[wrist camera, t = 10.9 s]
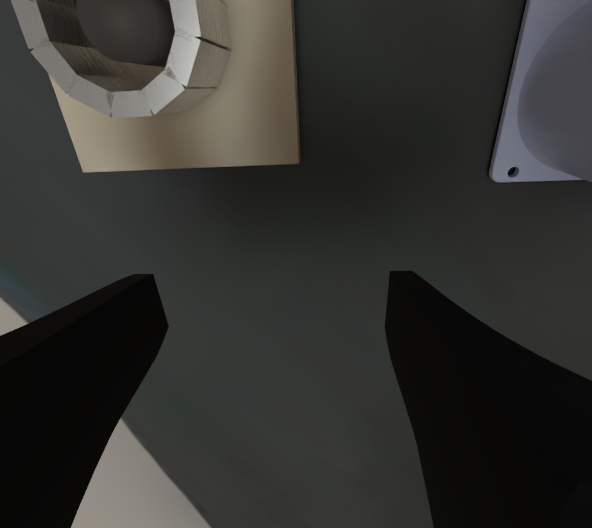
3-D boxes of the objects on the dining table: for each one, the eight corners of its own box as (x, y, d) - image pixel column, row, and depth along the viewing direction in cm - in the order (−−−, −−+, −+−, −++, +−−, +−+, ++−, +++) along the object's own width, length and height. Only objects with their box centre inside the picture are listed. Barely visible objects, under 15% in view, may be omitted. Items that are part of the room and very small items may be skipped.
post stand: (286, -155, 12) (266, -294, 8) (300, 157, 17) (293, 182, 13) (7, -121, 13) (-155, -228, 9) (100, 166, 18) (29, 191, 14)
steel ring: (217, -69, 12) (175, -132, 9) (238, 106, 15) (212, 112, 11) (69, -54, 13) (-29, -108, 9) (115, 113, 15) (54, 120, 12)
